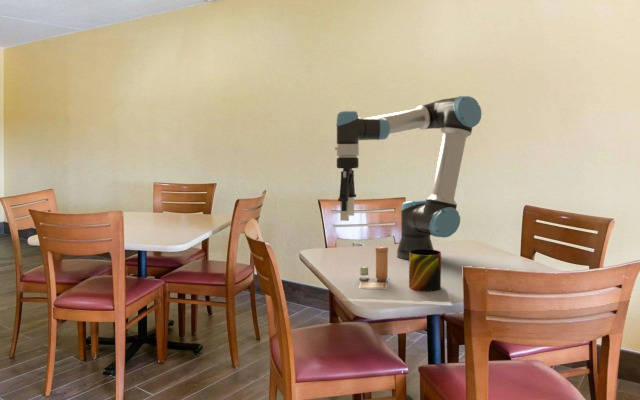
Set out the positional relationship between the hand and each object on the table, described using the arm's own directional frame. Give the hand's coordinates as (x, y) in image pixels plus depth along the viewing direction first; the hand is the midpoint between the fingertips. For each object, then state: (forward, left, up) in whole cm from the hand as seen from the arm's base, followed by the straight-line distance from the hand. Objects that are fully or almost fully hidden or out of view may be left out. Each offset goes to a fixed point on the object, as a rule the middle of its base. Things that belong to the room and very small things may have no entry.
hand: (347, 218), depth 170 cm
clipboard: (-10, +13, -20) cm, 26 cm away
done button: (-6, +9, -18) cm, 21 cm away
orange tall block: (-12, +9, -19) cm, 25 cm away
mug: (-24, +14, -21) cm, 35 cm away
